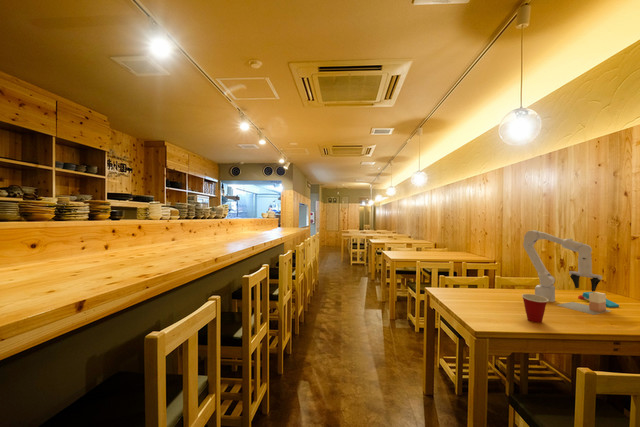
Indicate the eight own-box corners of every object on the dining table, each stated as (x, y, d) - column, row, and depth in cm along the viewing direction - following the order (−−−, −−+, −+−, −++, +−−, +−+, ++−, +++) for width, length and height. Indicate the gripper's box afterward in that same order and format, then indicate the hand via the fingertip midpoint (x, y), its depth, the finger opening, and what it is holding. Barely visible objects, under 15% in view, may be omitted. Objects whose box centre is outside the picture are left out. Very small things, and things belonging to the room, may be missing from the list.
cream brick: (589, 301, 158) (589, 293, 158) (596, 300, 161) (596, 291, 161) (598, 303, 155) (598, 294, 155) (605, 302, 157) (605, 293, 157)
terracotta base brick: (589, 309, 158) (589, 301, 158) (596, 308, 161) (596, 299, 161) (598, 311, 155) (598, 303, 155) (605, 310, 157) (605, 301, 157)
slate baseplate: (555, 306, 166) (555, 304, 166) (572, 303, 173) (572, 301, 173) (594, 316, 150) (594, 314, 150) (612, 312, 156) (612, 310, 156)
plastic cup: (534, 325, 137) (534, 300, 137) (516, 317, 147) (516, 294, 147) (554, 324, 138) (554, 299, 138) (535, 316, 149) (535, 293, 149)
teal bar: (615, 315, 165) (582, 298, 182) (619, 305, 163) (585, 288, 180) (606, 316, 163) (573, 299, 180) (609, 305, 161) (576, 289, 178)
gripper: (565, 264, 169) (565, 287, 169) (597, 268, 156) (597, 293, 156) (573, 263, 172) (573, 286, 172) (604, 267, 158) (604, 292, 158)
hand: (585, 289), depth 164 cm, fingers open, 7 cm apart
